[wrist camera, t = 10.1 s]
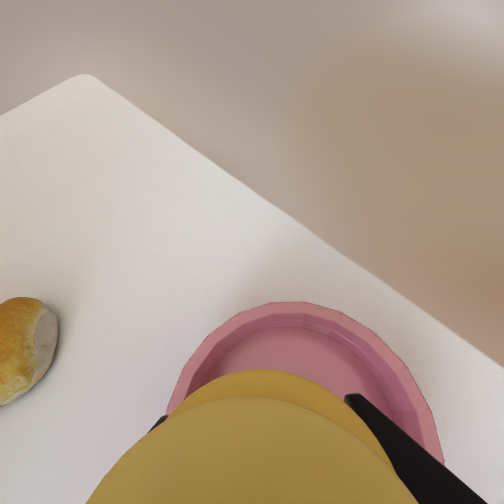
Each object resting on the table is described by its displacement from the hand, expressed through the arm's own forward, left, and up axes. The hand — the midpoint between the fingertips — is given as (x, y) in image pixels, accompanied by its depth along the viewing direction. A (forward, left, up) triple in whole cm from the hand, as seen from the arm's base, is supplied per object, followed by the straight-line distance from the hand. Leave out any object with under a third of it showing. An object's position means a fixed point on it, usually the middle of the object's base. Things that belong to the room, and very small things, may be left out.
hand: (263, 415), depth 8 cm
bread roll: (-15, +16, -14) cm, 26 cm away
